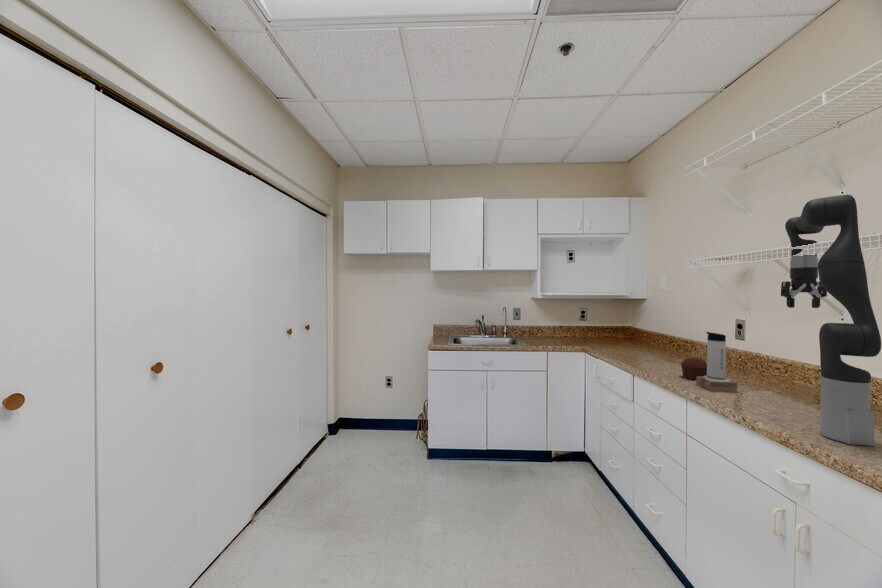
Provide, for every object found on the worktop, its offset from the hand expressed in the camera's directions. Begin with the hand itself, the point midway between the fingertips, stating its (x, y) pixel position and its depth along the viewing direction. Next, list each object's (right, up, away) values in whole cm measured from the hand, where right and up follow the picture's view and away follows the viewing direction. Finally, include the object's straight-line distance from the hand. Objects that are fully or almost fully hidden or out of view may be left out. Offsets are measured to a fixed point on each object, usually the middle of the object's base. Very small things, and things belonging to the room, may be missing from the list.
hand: (803, 307), depth 134 cm
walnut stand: (-24, -36, +14) cm, 45 cm away
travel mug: (-24, -32, +13) cm, 42 cm away
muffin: (-20, -36, +30) cm, 51 cm away
